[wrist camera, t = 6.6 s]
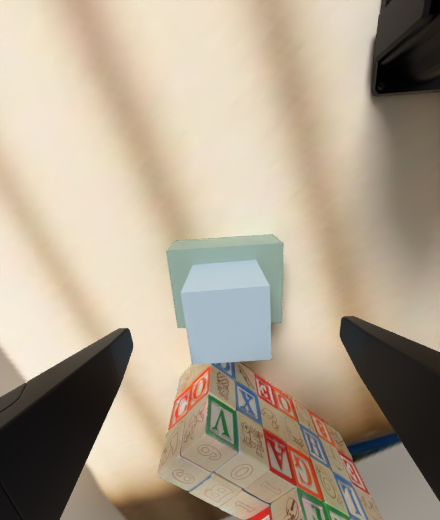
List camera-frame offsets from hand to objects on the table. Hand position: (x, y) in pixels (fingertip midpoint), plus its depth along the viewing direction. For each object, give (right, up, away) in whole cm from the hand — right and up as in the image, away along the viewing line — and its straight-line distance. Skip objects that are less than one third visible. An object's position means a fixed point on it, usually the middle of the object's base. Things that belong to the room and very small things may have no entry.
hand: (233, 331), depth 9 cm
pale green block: (0, +2, +12) cm, 12 cm away
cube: (0, 0, +8) cm, 8 cm away
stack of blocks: (+5, -15, +17) cm, 23 cm away
